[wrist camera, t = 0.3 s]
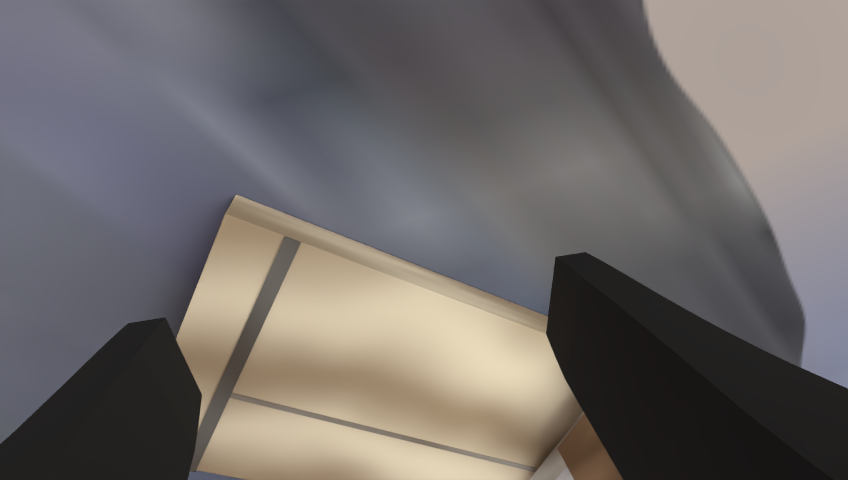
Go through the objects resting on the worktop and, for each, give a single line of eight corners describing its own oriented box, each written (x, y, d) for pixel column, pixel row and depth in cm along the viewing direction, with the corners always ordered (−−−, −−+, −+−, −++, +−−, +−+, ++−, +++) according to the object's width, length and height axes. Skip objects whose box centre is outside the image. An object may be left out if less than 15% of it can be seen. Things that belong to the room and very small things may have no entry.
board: (553, 508, 29) (568, 541, 27) (146, 421, 21) (128, 459, 19) (671, 364, 26) (697, 391, 24) (236, 194, 18) (224, 214, 16)
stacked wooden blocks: (560, 462, 27) (631, 598, 21) (489, 443, 25) (542, 586, 19) (670, 323, 24) (794, 433, 17) (598, 291, 22) (706, 400, 16)
